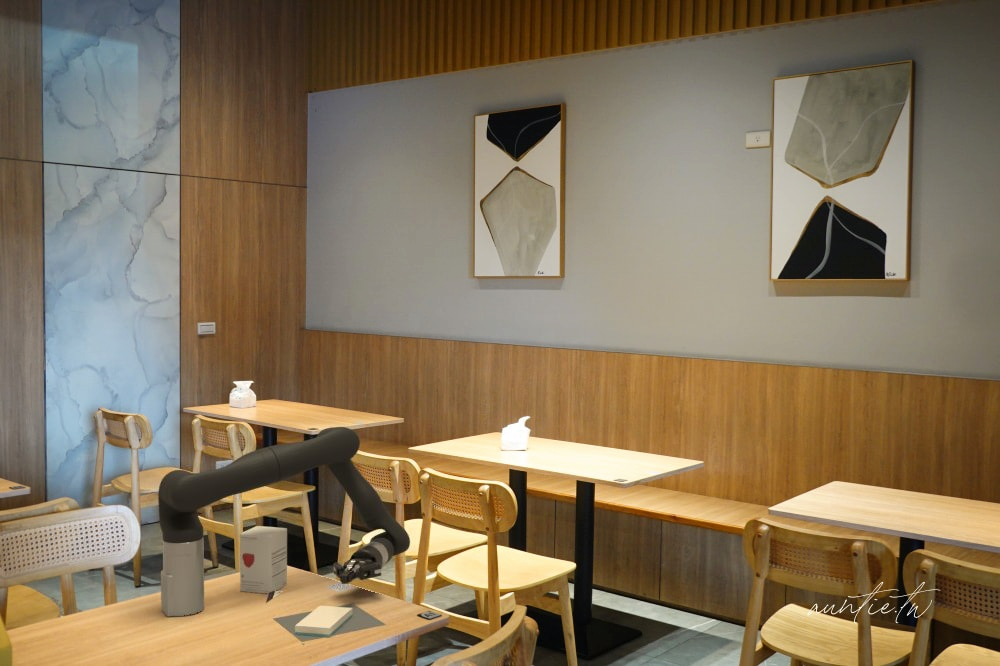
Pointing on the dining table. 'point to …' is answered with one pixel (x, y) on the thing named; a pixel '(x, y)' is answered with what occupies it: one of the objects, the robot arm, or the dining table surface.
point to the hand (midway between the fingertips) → (344, 579)
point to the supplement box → (263, 559)
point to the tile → (323, 621)
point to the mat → (355, 623)
